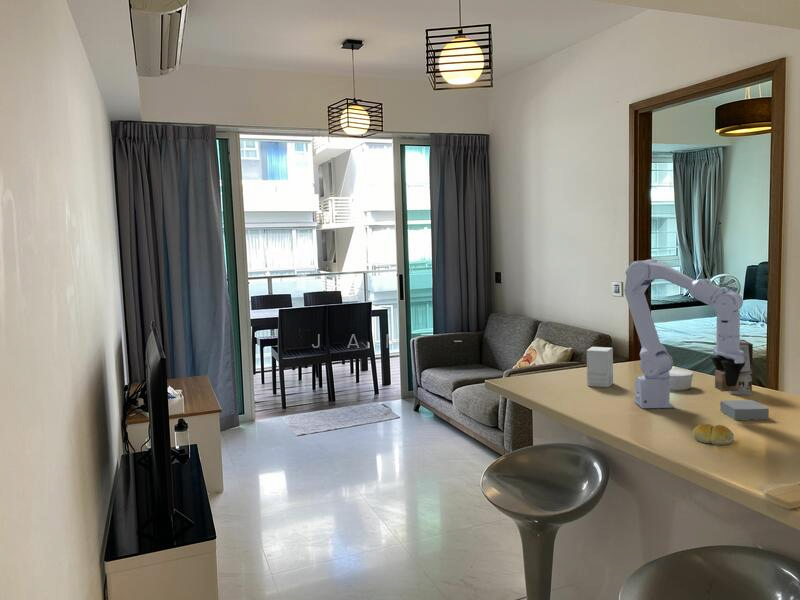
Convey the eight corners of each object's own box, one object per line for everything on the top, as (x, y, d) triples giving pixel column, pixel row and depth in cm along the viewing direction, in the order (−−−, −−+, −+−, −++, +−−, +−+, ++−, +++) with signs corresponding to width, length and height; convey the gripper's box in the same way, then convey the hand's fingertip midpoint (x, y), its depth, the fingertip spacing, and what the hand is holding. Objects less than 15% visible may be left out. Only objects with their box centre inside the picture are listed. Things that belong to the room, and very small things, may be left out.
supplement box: (613, 383, 220) (613, 347, 219) (608, 388, 214) (608, 351, 213) (592, 381, 224) (592, 346, 223) (586, 385, 218) (586, 349, 217)
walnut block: (721, 391, 175) (722, 373, 174) (715, 387, 179) (715, 370, 179) (738, 391, 174) (739, 373, 174) (731, 387, 179) (731, 369, 178)
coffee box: (752, 395, 199) (753, 344, 197) (730, 394, 200) (731, 344, 198) (743, 387, 208) (744, 339, 206) (721, 387, 209) (722, 339, 207)
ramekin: (653, 389, 210) (653, 373, 210) (660, 382, 220) (660, 367, 219) (690, 393, 204) (690, 377, 204) (695, 385, 213) (695, 370, 213)
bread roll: (697, 432, 166) (697, 418, 165) (735, 439, 160) (735, 423, 160) (688, 441, 160) (688, 426, 159) (727, 448, 154) (728, 432, 153)
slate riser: (734, 420, 175) (734, 409, 174) (720, 410, 184) (720, 400, 183) (768, 419, 174) (768, 408, 174) (752, 410, 183) (752, 400, 183)
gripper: (755, 339, 168) (754, 389, 169) (731, 331, 182) (730, 377, 184) (728, 340, 168) (727, 390, 170) (705, 331, 183) (705, 378, 184)
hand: (727, 383), depth 177 cm, fingers closed on walnut block, 4 cm apart
